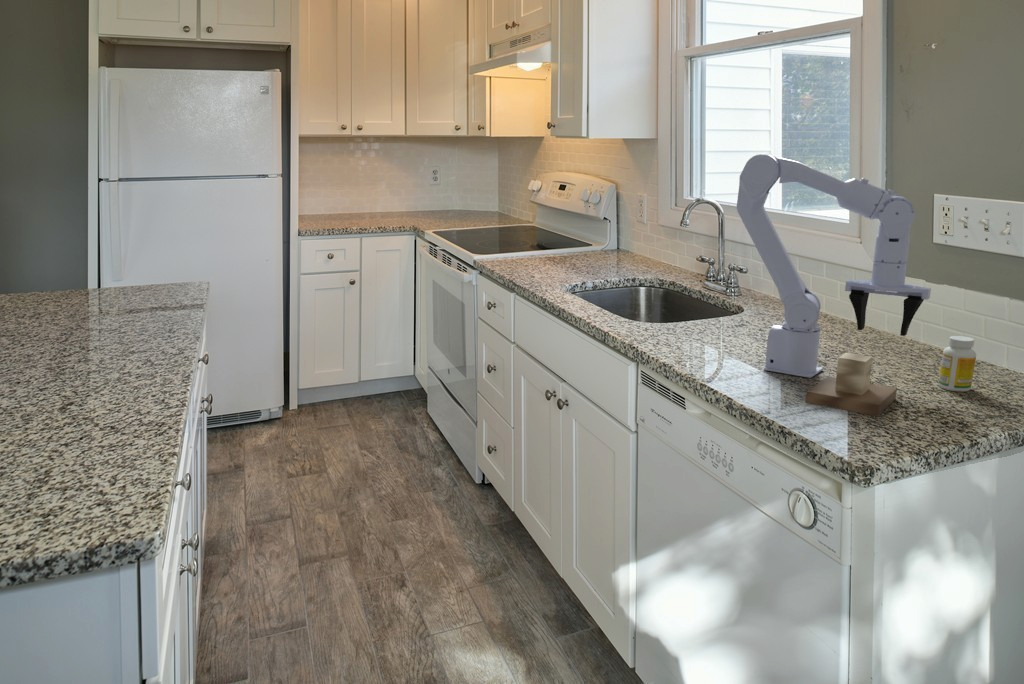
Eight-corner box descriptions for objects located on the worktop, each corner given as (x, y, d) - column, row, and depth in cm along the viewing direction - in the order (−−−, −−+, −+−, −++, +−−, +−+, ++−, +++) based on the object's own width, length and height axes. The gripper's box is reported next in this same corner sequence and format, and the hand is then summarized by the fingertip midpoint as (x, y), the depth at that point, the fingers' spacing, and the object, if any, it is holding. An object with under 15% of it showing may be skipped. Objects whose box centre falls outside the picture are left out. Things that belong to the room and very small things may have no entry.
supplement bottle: (934, 388, 146) (941, 338, 143) (942, 382, 149) (949, 333, 147) (966, 394, 142) (974, 343, 140) (974, 387, 146) (981, 338, 144)
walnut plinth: (805, 402, 137) (806, 391, 137) (826, 386, 147) (827, 376, 146) (877, 416, 130) (879, 404, 130) (895, 398, 139) (897, 388, 139)
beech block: (834, 390, 138) (838, 357, 136) (842, 384, 141) (845, 352, 140) (861, 395, 135) (865, 361, 133) (868, 389, 138) (872, 356, 137)
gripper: (843, 260, 147) (836, 330, 150) (928, 267, 138) (918, 341, 142) (854, 256, 152) (847, 324, 156) (936, 262, 144) (927, 334, 147)
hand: (881, 331), depth 149 cm, fingers open, 7 cm apart
